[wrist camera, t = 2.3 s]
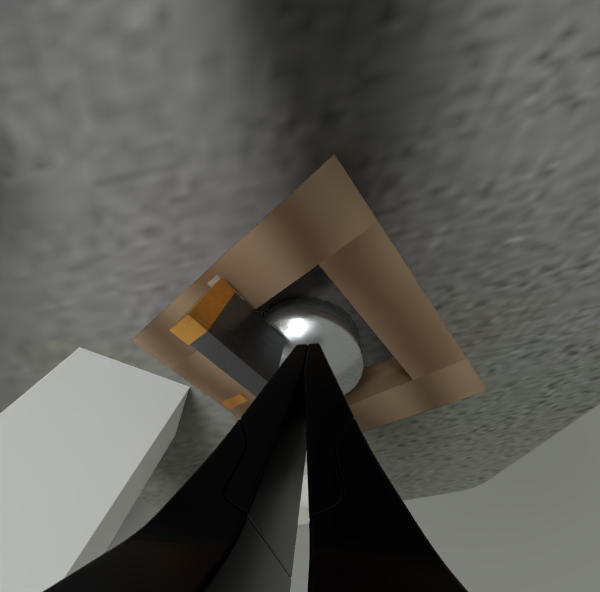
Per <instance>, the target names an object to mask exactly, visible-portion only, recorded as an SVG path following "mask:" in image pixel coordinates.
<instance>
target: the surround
mask: <svg viewBox="0 0 600 592" xmlns="http://www.w3.org/2000/svg"><path fill="white" fill-rule="evenodd" d="M318 264H319V265H320V267H321V268H322V269H323V270H324V272H325V273H326V274H327V275H328V276H329V278H330V279H331V280H332V281H333V283H334V284H335V285H336V286H337V287H338V289H339V290H340V291H341V292H342V294H343V295H344V296H345V297H346V298H347V300H348V301H349V302H350V303H351V305H352V306H353V307H354V308H355V309H356V311H357V312H358V313H359V314H360V316H361V317H362V318H363V319H364V321H365V322H366V323H367V324H368V325H369V327H370V328H371V329H372V330H373V332H374V333H375V334H376V335H377V336H378V338H379V339H380V340H381V341H382V343H383V344H384V345H385V346H386V347H387V349H388V350H389V351H390V352H391V354H392V355H393V357H391V358H389V359H386V360H384V361H382V362H380V363H377V364H375V365H373V366H371V367H369V368H366V369H364V370H363V372H362V375H361V378H360V380H359V381H358V383H357V384H356V386H355V387H354V388H353V389H352V390H351V391H349V392H348V393H347V394H345V395H344V396H345V398H346V400H347V403H348V405H349V407H350V409H351V411H352V413H353V415H354V418H355V419H356V421H357V423H358V425H359V427H360V429H361V432H364V431H368V430H371V429H374V428H377V427H380V426H383V425H386V424H389V423H392V422H395V421H398V420H401V419H404V418H407V417H410V416H413V415H416V414H419V413H422V412H425V411H428V410H431V409H434V408H437V407H440V406H443V405H446V404H449V403H452V402H455V401H458V400H461V399H464V398H467V397H470V396H473V395H476V394H479V393H482V392H485V391H488V390H487V388H486V387H485V385H484V384H483V382H482V381H481V379H480V378H479V376H478V374H477V373H476V371H475V370H474V368H473V367H472V365H471V364H470V362H469V361H468V359H467V358H466V356H465V354H464V353H463V351H462V350H461V348H460V347H459V345H458V344H457V342H456V341H455V339H454V337H453V336H452V334H451V333H450V331H449V330H448V328H447V327H446V325H445V324H444V322H443V321H442V319H441V317H440V316H439V314H438V313H437V311H436V310H435V308H434V307H433V305H432V304H431V302H430V300H429V299H428V297H427V296H426V294H425V293H424V291H423V290H422V288H421V287H420V285H419V283H418V282H417V280H416V279H415V277H414V276H413V274H412V273H411V271H410V270H409V268H408V267H407V265H406V263H405V262H404V260H403V259H402V257H401V256H400V254H399V253H398V251H397V250H396V248H395V246H394V245H393V243H392V242H391V240H390V239H389V237H388V236H387V234H386V233H385V231H384V230H383V228H382V226H381V225H380V223H379V222H378V220H377V219H376V217H375V216H374V214H373V213H372V211H371V209H370V208H369V206H368V205H367V203H366V202H365V200H364V199H363V197H362V196H361V194H360V192H359V191H358V189H357V188H356V186H355V185H354V183H353V182H352V180H351V179H350V177H349V176H348V174H347V172H346V171H345V169H344V168H343V166H342V165H341V163H340V162H339V160H338V159H337V157H336V155H335V154H334V155H333V156H332V157H331V158H330V159H328V160H327V161H326V162H325V163H324V164H323V165H322V166H321V167H320V168H319V169H318V170H316V171H315V172H314V173H313V174H312V175H311V176H310V177H309V178H308V179H307V180H305V181H304V182H303V183H302V184H301V185H300V186H299V187H298V188H297V189H296V190H295V191H293V192H292V193H291V194H290V195H289V196H288V197H287V198H286V199H285V200H284V201H282V202H281V203H280V204H279V205H278V206H277V207H276V208H275V209H274V210H273V211H272V212H270V213H269V214H268V215H267V216H266V217H265V218H264V219H263V220H262V221H261V222H260V223H258V224H257V225H256V226H255V227H254V228H253V229H252V230H251V231H250V232H249V233H247V234H246V235H245V236H244V237H243V238H242V239H241V240H240V241H239V242H238V243H237V244H235V245H234V246H233V247H232V248H231V249H230V250H229V251H228V252H227V253H226V254H225V255H223V256H222V257H221V258H220V259H219V260H218V261H217V262H216V263H215V264H214V265H212V266H211V267H210V268H209V269H208V270H207V271H206V272H205V273H204V274H203V275H202V276H200V277H199V278H198V279H197V280H196V281H195V282H194V283H193V284H192V285H191V286H189V287H188V288H187V289H186V290H185V291H184V292H183V293H182V294H181V295H180V296H179V297H177V298H176V299H175V300H174V301H173V302H172V303H171V304H170V305H169V306H168V307H167V308H165V309H164V310H163V311H162V312H161V313H160V314H159V315H158V316H157V317H156V318H154V319H153V320H152V321H151V322H150V323H149V324H148V325H147V326H146V327H145V328H144V329H142V330H141V331H140V332H139V333H138V334H137V335H136V336H135V337H134V338H133V339H131V341H133V342H134V343H136V344H137V345H138V346H140V347H141V348H142V349H144V350H145V351H147V352H148V353H149V354H151V355H152V356H153V357H155V358H156V359H158V360H159V361H160V362H162V363H163V364H165V365H166V366H167V367H169V368H170V369H171V370H173V371H174V372H176V373H177V374H178V375H180V376H181V377H183V378H184V379H185V380H187V381H188V382H189V383H191V384H192V385H194V386H195V387H196V388H198V389H199V390H201V391H202V392H203V393H205V394H206V395H207V396H209V397H210V398H212V399H213V400H214V401H216V402H217V403H219V404H220V405H221V406H223V407H224V408H225V409H227V410H228V411H230V412H231V413H232V414H234V415H235V416H236V417H238V418H239V419H240V418H241V416H242V415H243V414H244V412H245V411H246V410H247V409H248V407H249V406H250V405H251V403H252V402H253V401H254V399H255V398H256V397H255V396H254V395H253V394H252V393H250V392H249V391H248V390H247V389H245V388H244V387H243V386H242V385H240V384H239V383H238V382H236V381H235V380H234V379H233V378H231V377H230V376H229V375H228V374H226V373H225V372H224V371H223V370H221V369H220V368H219V367H218V366H216V365H215V364H214V363H212V362H211V361H210V360H209V359H207V358H206V357H205V356H204V355H202V354H201V353H200V352H199V351H197V350H196V349H195V348H194V347H192V346H191V345H187V344H186V343H185V342H184V341H182V340H181V339H180V338H178V337H177V336H176V335H175V334H173V333H172V332H171V331H170V329H171V328H172V327H173V326H174V325H175V324H176V323H177V321H178V320H179V319H180V318H181V317H182V316H183V315H184V314H185V313H186V312H187V311H188V310H189V309H190V308H191V307H192V306H193V305H194V303H195V302H196V301H197V300H198V299H199V298H200V297H201V296H202V295H203V294H204V293H205V292H206V291H207V290H208V289H209V288H210V287H211V286H213V285H214V284H215V283H216V282H217V281H218V280H220V279H221V278H223V279H224V280H225V281H226V282H227V283H228V284H229V285H230V286H231V287H232V288H233V289H234V290H235V291H236V293H237V294H238V295H239V296H240V297H241V298H242V299H243V300H244V301H245V302H246V303H247V304H248V305H249V306H250V307H251V308H252V309H253V310H255V309H257V308H258V307H260V306H261V305H262V304H264V303H265V302H267V301H268V300H269V299H271V298H272V297H274V296H275V295H276V294H278V293H279V292H281V291H282V290H283V289H285V288H286V287H288V286H289V285H290V284H292V283H293V282H295V281H296V280H297V279H299V278H300V277H302V276H303V275H304V274H306V273H307V272H309V271H310V270H311V269H313V268H314V267H316V266H317V265H318ZM306 451H307V450H306Z"/></svg>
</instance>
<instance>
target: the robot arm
mask: <svg viewBox="0 0 600 592" xmlns="http://www.w3.org/2000/svg"><path fill="white" fill-rule="evenodd" d="M240 419H241V420H238V421H237V423H236V424H235V425H234V427H233V428H232V429H231V431H230V432H229V433H228V434H227V435H226V437H225V438H224V439H223V440H222V442H221V443H220V444H219V445H218V447H217V448H216V449H215V450H214V451H213V452H212V453H211V455H210V456H209V457H208V458H207V459H206V460H205V461H204V463H203V464H202V465H201V466H200V467H199V468H198V469H197V470H196V471H195V472H194V473H193V475H192V476H191V477H190V478H189V479H188V480H187V481H186V482H185V483H184V484H183V486H182V487H181V488H180V489H179V490H178V491H177V492H176V493H175V494H174V495H173V496H172V498H171V499H170V500H169V501H168V502H167V503H166V504H165V505H164V506H163V507H162V508H161V510H160V511H159V512H158V513H157V514H156V515H155V516H154V517H153V518H152V519H151V520H150V521H148V522H147V523H146V524H145V525H144V526H143V527H142V528H140V529H139V530H138V531H137V532H136V533H134V534H133V535H132V536H130V537H129V538H128V539H126V540H125V541H123V542H122V543H120V544H118V545H117V546H115V547H114V548H112V549H110V550H109V551H107V552H106V553H104V554H102V555H101V556H99V557H97V558H96V559H94V560H93V561H91V562H89V563H88V564H86V565H85V566H83V567H81V568H80V569H78V570H76V571H75V572H73V573H72V574H70V575H68V576H67V577H65V578H64V579H62V580H60V581H59V582H57V583H56V584H54V585H52V586H51V587H49V588H47V589H46V590H44V591H43V592H290V586H291V578H290V577H291V576H292V568H293V559H294V551H295V542H296V534H297V526H298V517H299V509H300V500H301V492H302V484H303V475H304V467H305V458H306V450H307V475H308V504H309V519H310V521H309V531H310V559H309V577H308V592H468V591H467V590H466V589H465V587H464V586H463V585H462V584H461V583H460V582H459V580H458V579H457V578H456V577H455V576H454V574H453V573H452V572H451V571H450V570H449V568H448V567H447V566H446V565H445V564H444V562H443V561H442V560H441V558H440V557H439V555H438V554H437V552H436V551H435V550H434V548H433V547H432V545H431V544H430V542H429V541H428V539H427V538H426V537H425V535H424V534H423V532H422V530H421V529H420V528H419V526H418V524H417V523H416V521H415V520H414V518H413V517H412V515H411V513H410V512H409V510H408V509H407V507H406V505H405V504H404V502H403V501H402V499H401V498H400V496H399V494H398V493H397V491H396V490H395V488H394V487H393V485H392V483H391V482H390V480H389V479H388V477H387V475H386V474H385V472H384V471H383V469H382V467H381V466H380V464H379V462H378V461H377V459H376V457H375V456H374V454H373V452H372V451H371V449H370V447H369V445H368V443H367V441H366V439H365V437H364V435H363V433H362V432H361V429H360V427H359V425H358V423H357V421H356V419H355V418H354V415H353V413H352V411H351V409H350V407H349V405H348V403H347V400H346V398H345V396H344V394H343V392H342V390H341V388H340V386H339V384H338V382H337V379H336V377H335V375H334V373H333V371H332V369H331V367H330V365H329V363H328V361H327V359H326V356H325V354H324V352H323V350H322V348H321V346H320V344H319V343H311V344H308V345H307V344H298V345H296V346H295V347H294V349H293V350H292V351H291V353H290V354H289V355H288V357H287V358H286V359H285V360H284V362H283V363H282V364H281V366H280V367H279V368H278V370H277V371H276V372H275V373H274V375H273V376H272V377H271V379H270V380H269V381H268V383H267V384H266V385H265V386H264V388H263V389H262V390H261V392H260V393H259V394H258V396H257V397H256V398H255V399H254V401H253V402H252V403H251V405H250V406H249V407H248V409H247V410H246V411H245V412H244V414H243V415H242V416H241V418H240Z"/></svg>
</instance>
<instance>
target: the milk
mask: <svg viewBox="0 0 600 592" xmlns="http://www.w3.org/2000/svg"><path fill="white" fill-rule="evenodd" d="M189 388H190V387H188V386H186V385H183V384H180V383H177V382H174V381H172V380H169V379H166V378H163V377H161V376H158V375H155V374H152V373H149V372H147V371H144V370H141V369H138V368H136V367H133V366H130V365H127V364H125V363H122V362H119V361H116V360H113V359H111V358H108V357H105V356H102V355H100V354H97V353H94V352H91V351H88V350H86V349H83V348H80V347H79V348H78V349H77V350H76V351H75V352H73V353H72V354H71V355H70V356H69V357H67V358H66V359H65V360H64V361H63V362H61V363H60V364H59V365H58V366H57V367H55V368H54V369H53V370H52V371H51V372H49V373H48V374H47V375H46V376H45V377H43V378H42V379H41V380H40V381H39V382H37V383H36V384H35V385H34V386H33V387H31V388H30V389H29V390H28V391H27V392H25V393H24V394H23V395H22V396H21V397H19V398H18V399H17V400H16V401H15V402H13V403H12V404H11V405H10V406H9V407H7V408H6V409H5V410H4V411H3V412H1V413H0V592H43V591H44V590H46V589H47V588H49V587H51V586H52V585H54V584H56V583H57V582H59V581H60V580H62V579H64V578H65V577H67V576H68V575H70V574H72V573H73V572H75V571H76V570H78V569H80V568H81V567H83V566H85V565H86V564H88V563H89V562H91V561H93V560H94V559H96V558H97V557H99V556H101V555H102V554H104V553H105V551H106V549H107V548H108V546H109V544H110V543H111V541H112V539H113V538H114V536H115V534H116V533H117V531H118V529H119V528H120V526H121V524H122V522H123V521H124V519H125V517H126V516H127V514H128V513H129V511H130V509H131V508H132V506H133V504H134V503H135V501H136V499H137V498H138V496H139V495H140V493H141V491H142V490H143V488H144V486H145V485H146V483H147V481H148V480H149V478H150V476H151V475H152V473H153V471H154V470H155V468H156V466H157V465H158V463H159V461H160V460H161V458H162V457H163V455H164V453H165V452H166V450H167V448H168V447H169V445H170V443H171V442H172V440H173V438H174V437H175V434H176V431H177V428H178V424H179V421H180V418H181V415H182V411H183V408H184V405H185V401H186V398H187V395H188V391H189Z"/></svg>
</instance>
